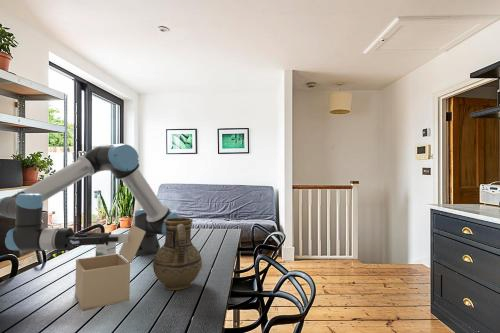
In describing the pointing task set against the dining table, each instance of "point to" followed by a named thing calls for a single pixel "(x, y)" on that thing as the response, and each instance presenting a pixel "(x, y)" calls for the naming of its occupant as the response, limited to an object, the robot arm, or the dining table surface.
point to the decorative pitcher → (177, 256)
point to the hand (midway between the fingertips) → (128, 238)
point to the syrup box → (105, 249)
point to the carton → (102, 281)
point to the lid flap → (132, 243)
